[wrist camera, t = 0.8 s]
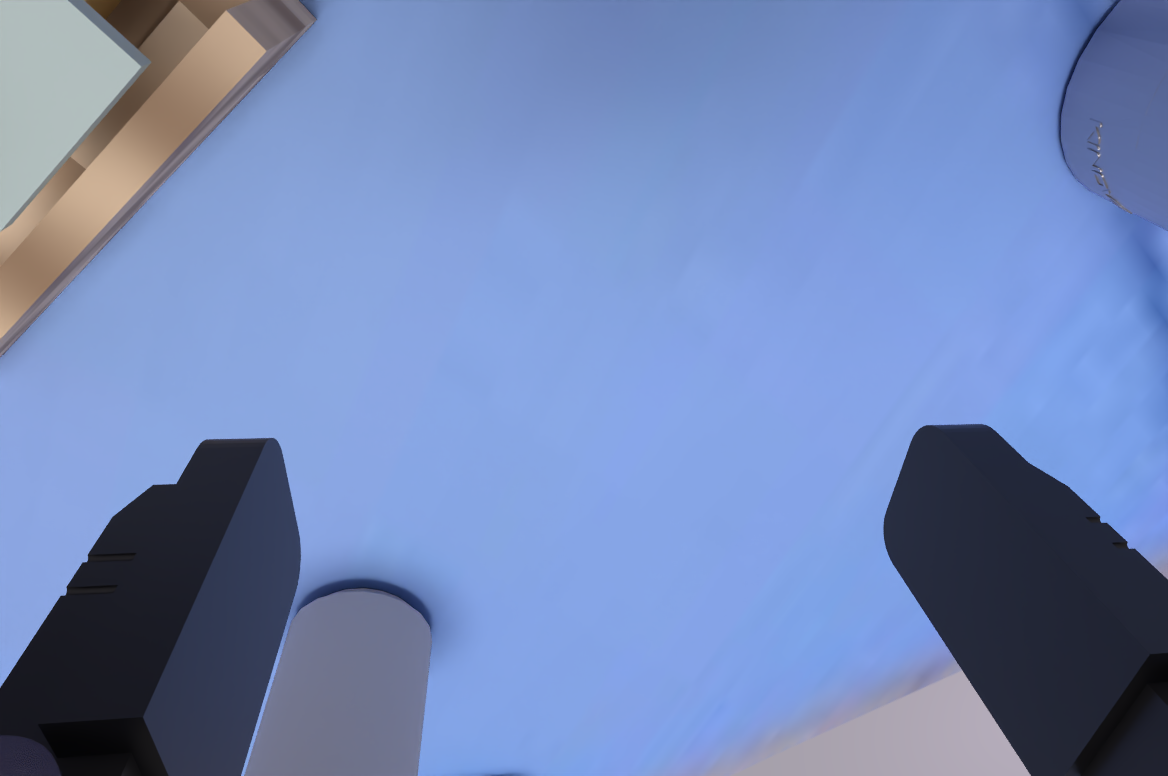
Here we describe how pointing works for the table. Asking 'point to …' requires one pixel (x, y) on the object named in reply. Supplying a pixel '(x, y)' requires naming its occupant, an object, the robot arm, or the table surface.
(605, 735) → the table surface
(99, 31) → the lid
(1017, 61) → the table surface
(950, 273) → the table surface
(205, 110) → the wooden rack
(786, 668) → the table surface
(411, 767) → the can
